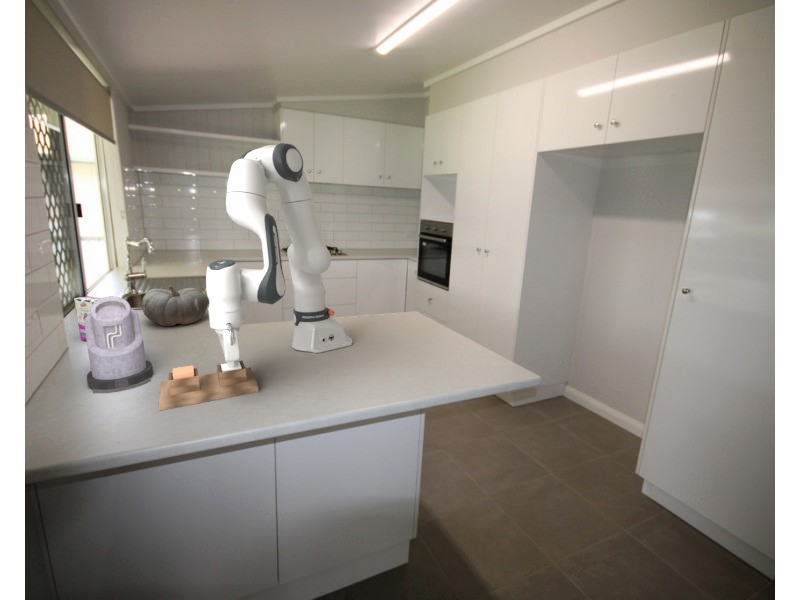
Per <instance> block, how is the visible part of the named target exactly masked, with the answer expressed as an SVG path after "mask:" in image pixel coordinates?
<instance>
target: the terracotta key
mask: <svg viewBox="0 0 800 600" xmlns="http://www.w3.org/2000/svg"><path fill="white" fill-rule="evenodd" d="M194 368H195V367H194V365H193V364H192V365H191V364H190V365H187V366H179V367H173V368H172V371H173V380H176V379H182V378H188V377H194Z"/></svg>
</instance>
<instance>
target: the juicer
mask: <svg viewBox="0 0 800 600" xmlns="http://www.w3.org/2000/svg"><path fill="white" fill-rule="evenodd" d="M100 298H101V299H99V300H97V301H96V302H95V303H94V304H93V305H92V306H91V308H90V313H89V314H88V315H87V317H86V318H85V320H84V321H85V331H86V339H87V341H86V347H87V353H88V358H89V364H90V371H89V372H88V373H87V374H86V382H87V387H88V388H89V389H90V390H92V394H112V393H113V394H114V393H121V392H124V391H127V390H133V389H135V388H138V387H141V386H145V385H146V384H148V383H151V382H152V380H151V378H153V375H154V369H153V363H152V362H150V361H149V360H146V353H145V346H144V340H143V339H144V337H143V333H142V326H141V322H140V321H141V320H140V317H139V313H138V312H137V311H136V310H135V309H134V308H131V305H130V302H128V300H126V299H124V298H122V297H120V296H114V295H113V296H104V297H100Z"/></svg>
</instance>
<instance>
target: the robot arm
mask: <svg viewBox="0 0 800 600" xmlns="http://www.w3.org/2000/svg"><path fill="white" fill-rule="evenodd" d="M228 175H229V176H228V180H227V184H226V193H225V194H226V198H225V209H226V213H227V215H228V216H229V218H230V220H232V222H234V223H235V224H236V225H238V226H240V227H243V229H247V230H249V231H250V232H253V233H255V234H256V235H257V236H258V237H259V240H260V242H261V251H262V258H263V268H262V269H258V268H257V269H256V268H255V269H254V268H243V267H241V266H239V265H238V263H237V261H235V260H233V259H221V260H215V261H213V262H210V263H209V264H208V265H207V268H206V273H205V286H206V287H205V288H206V298H207V300H208V307H207V310H208V319H209V327H210V328H211V329H213V330H215V334H217V335H218V339H219V343H220V345H221V346H220V347H221V349H222V352H223V353H222V354H223V356H224V360H225V363H227V366H228V367H229V368H230V367H234V362H235V361H241V351H240V350H241V349H240V340H239V335H238V332H239V331H240V330H241V329H240V328H241V327H242V326H244V324H245V318H244V306H243V303H242V302H248V303H261V304H267V305H274V304H276V303H277V302H279V301H280V300H281V299H282V298H283V297H284V296H285V294H286V280H285V275H284V271H283V266H282V265H283V264H282V258H281V257H282V255H281V249H280V248H281V246H280V237H279V233H278V232H279V231H278V226H277V221H276V220H275V217H274V216H273V215H272V214H270V213H269V210H268V208H267V206H268V205H267V185H268V184H269V185H270V184H275V186H276V188H277V192H278V193H277V194H278V199H279V204H280V209H281V214H282V218H283V221H284V227H285V228H286V230H287V233H288V236H289V238H290V240H291V243H290V244H289V246H288V247H287V251H286V255H287V260H288V263H289V264H288V265H289V272H290V277H291V280H292V287H293V303H294V304H293V305H294V307H293V315H292V316H293V318H292V319H293V324H294V330H293V339H292V341H291V348H292V349H294V350H297V351H302V352H310V353H315V354H320V353H324V352H328V351H333V350H337V349H340V348H345V347H349V346H352V345H353V339H352V338H351V337H350V336H349V335H348V334H347V331H346V329H345V327H344V325H343V324H342V323H340V322H339V321H337V320H336V319H335V318H333V316H334V315H335V310H333V309H330V308H329V307H326V295H325V294H326V289H325V287H326V286H325V285H324V281H323V279H322V274H323V273H324V272H326V271H327V270H328V269H329V268H330V266H331V263H332V256H331V255H332V254H331V253H330V251H329V249H328V247H327V245H326V242H325V238H324V236H323V233H322V230H321V228H320V225H319V222H318V217H317V213H316V208H315V204H314V203H315V202H314V199H313V194H312V189H311V186H310V183H309V181H308V178H307V174H306V173H305V171H304V160H303V156H302V154H301V152H300V150H298V148H297V147H296V146H295V145H293V144H292V143H291V144H290V143H277V144H268V145H263V146H262V147H259V148H256V149H251V150H248V151H246V152H244V153H243V154H242V155H241V156H240V157H239V159H237V160H235V161H234V162H233V163H232V164H231V167H230V171H229V174H228Z"/></svg>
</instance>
